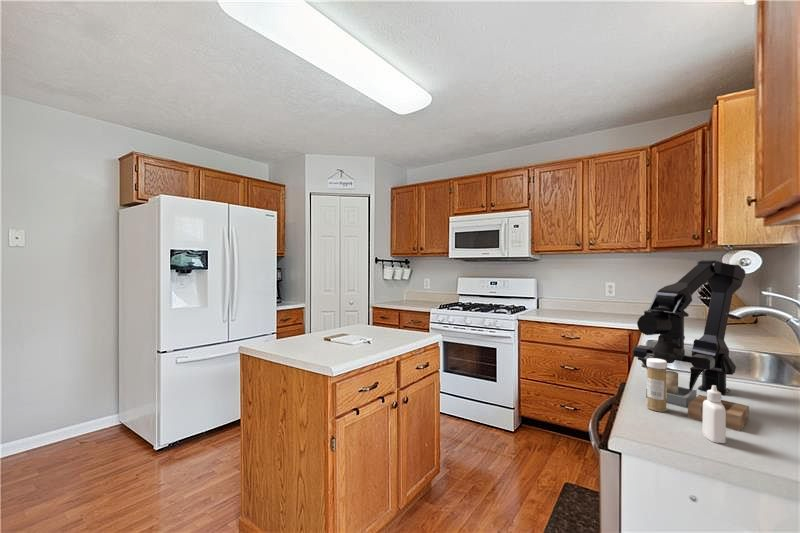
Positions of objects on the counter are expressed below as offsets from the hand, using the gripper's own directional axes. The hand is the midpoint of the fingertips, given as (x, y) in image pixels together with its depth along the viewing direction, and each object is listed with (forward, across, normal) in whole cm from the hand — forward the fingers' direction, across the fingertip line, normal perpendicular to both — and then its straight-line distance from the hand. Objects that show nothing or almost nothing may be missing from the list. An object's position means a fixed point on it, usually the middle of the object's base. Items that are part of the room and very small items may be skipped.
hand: (671, 385), depth 109 cm
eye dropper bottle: (+4, +14, -21) cm, 26 cm away
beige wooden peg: (+3, 0, 0) cm, 3 cm away
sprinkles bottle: (+4, 0, -12) cm, 13 cm away
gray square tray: (+4, 0, 0) cm, 4 cm away
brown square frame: (+4, +12, -7) cm, 14 cm away
